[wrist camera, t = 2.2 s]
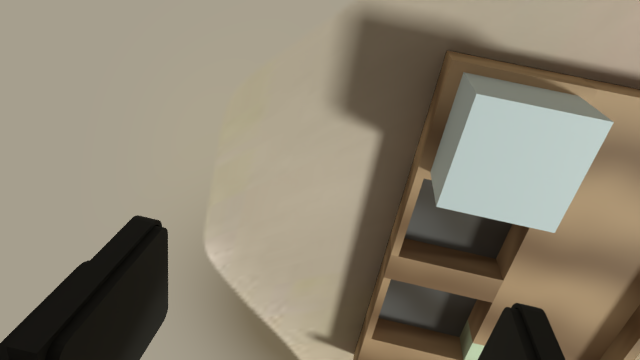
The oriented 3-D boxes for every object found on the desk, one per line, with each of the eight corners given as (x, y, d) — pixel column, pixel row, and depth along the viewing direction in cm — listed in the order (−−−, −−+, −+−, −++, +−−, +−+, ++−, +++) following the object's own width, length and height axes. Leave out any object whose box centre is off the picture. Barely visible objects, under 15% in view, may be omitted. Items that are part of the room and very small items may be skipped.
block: (463, 72, 22) (476, 93, 19) (578, 95, 22) (614, 122, 19) (430, 171, 25) (436, 206, 22) (531, 194, 25) (554, 233, 21)
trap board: (446, 50, 24) (456, 66, 21) (746, 111, 24) (807, 138, 20) (353, 354, 37) (349, 396, 33) (547, 401, 36) (564, 449, 32)
